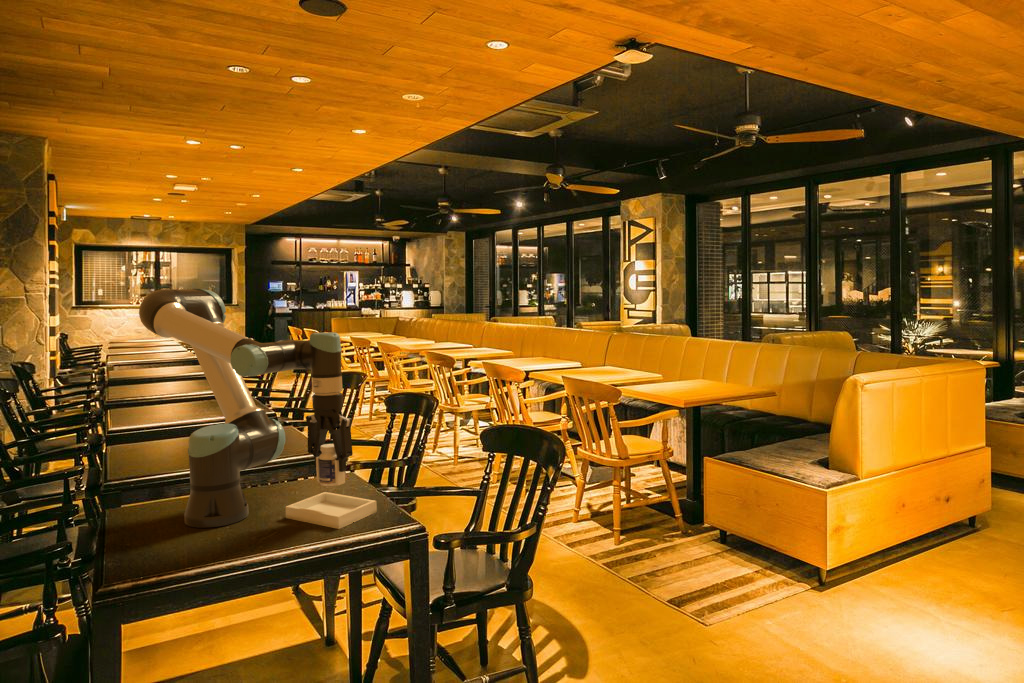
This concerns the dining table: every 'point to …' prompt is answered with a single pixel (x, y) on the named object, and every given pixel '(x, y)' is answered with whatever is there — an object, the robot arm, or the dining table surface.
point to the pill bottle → (327, 465)
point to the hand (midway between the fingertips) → (331, 482)
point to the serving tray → (331, 510)
